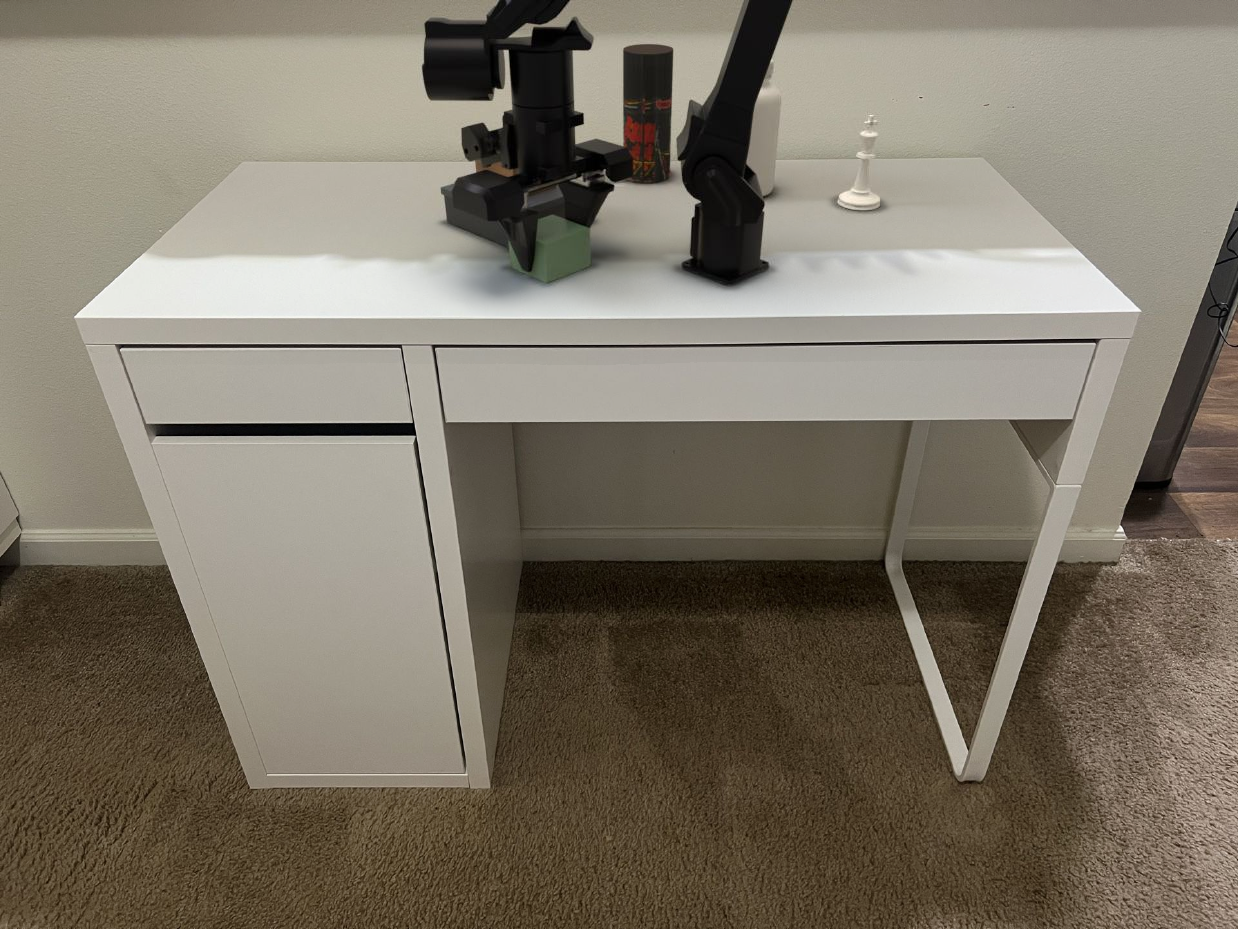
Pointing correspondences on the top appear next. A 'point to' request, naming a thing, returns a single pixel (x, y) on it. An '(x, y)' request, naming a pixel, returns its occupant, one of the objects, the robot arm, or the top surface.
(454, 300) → the top surface
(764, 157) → the pill bottle
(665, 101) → the deodorant
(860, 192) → the chess piece
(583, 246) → the sage box
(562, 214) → the storage box
